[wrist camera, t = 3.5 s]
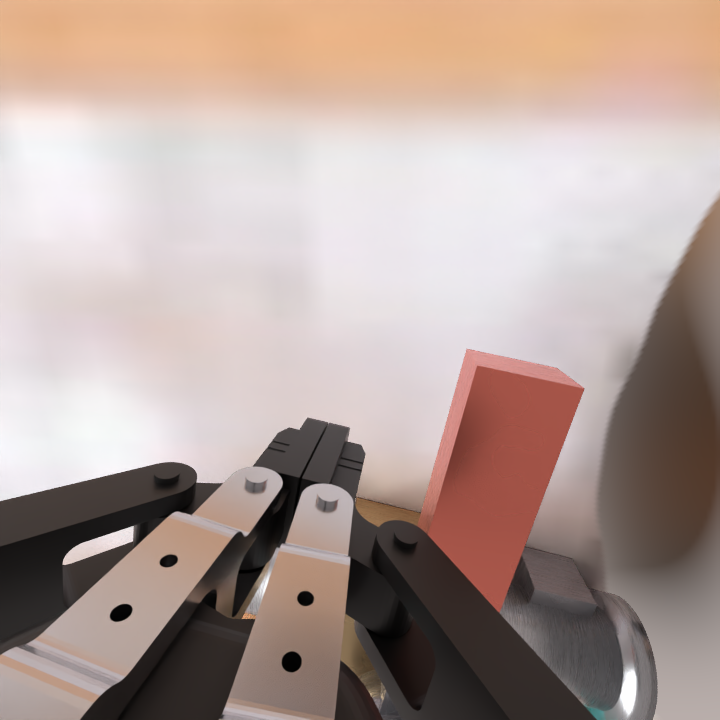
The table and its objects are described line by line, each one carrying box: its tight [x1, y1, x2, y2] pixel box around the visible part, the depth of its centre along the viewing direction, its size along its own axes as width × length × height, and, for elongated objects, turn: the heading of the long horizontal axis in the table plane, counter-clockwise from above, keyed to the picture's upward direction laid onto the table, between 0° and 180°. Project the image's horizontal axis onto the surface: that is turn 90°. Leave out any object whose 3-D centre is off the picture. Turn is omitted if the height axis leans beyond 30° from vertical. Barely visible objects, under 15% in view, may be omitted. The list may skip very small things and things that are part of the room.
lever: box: [358, 349, 584, 720], centre depth 13 cm, size 17×4×2 cm, turn 169°
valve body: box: [245, 498, 657, 720], centre depth 19 cm, size 7×22×8 cm, turn 79°
